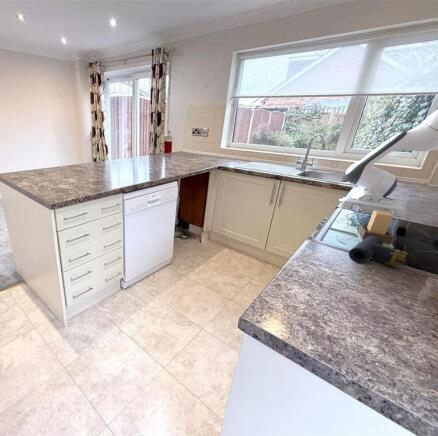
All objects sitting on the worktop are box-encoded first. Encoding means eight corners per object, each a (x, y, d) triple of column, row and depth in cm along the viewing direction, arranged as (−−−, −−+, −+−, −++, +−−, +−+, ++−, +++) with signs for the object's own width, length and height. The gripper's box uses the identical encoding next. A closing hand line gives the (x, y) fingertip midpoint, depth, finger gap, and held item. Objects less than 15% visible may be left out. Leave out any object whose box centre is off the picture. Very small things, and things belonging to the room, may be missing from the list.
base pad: (354, 231, 100) (358, 222, 98) (383, 236, 96) (387, 227, 94) (360, 243, 90) (364, 233, 89) (392, 249, 86) (397, 239, 85)
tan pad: (364, 233, 96) (373, 209, 92) (379, 236, 94) (389, 212, 90) (366, 238, 92) (376, 213, 88) (382, 241, 90) (393, 216, 86)
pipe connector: (412, 246, 78) (400, 260, 69) (405, 260, 80) (393, 276, 71) (366, 233, 86) (351, 244, 78) (361, 246, 88) (346, 259, 80)
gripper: (340, 192, 111) (345, 200, 100) (400, 200, 102) (413, 210, 91) (336, 205, 114) (340, 214, 103) (394, 214, 104) (405, 225, 93)
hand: (375, 212), depth 97 cm, fingers open, 8 cm apart
